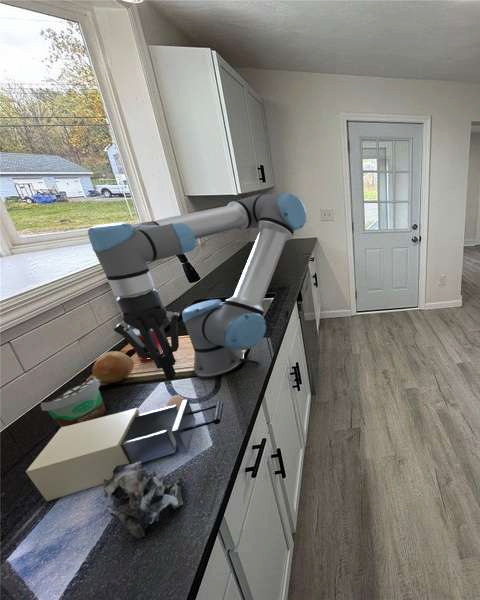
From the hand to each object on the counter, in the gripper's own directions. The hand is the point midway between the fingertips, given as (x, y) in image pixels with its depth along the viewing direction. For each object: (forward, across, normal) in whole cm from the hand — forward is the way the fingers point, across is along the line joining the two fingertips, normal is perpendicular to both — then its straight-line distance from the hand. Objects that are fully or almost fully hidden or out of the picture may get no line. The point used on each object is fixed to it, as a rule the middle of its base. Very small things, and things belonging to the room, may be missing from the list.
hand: (171, 376), depth 81 cm
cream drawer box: (+13, +16, +10) cm, 22 cm away
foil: (+13, +3, +27) cm, 30 cm away
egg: (+13, +2, -2) cm, 13 cm away
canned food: (+13, +17, -44) cm, 49 cm away
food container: (+13, +24, -12) cm, 30 cm away
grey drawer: (+12, 0, +10) cm, 16 cm away
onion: (+13, +23, -32) cm, 42 cm away
